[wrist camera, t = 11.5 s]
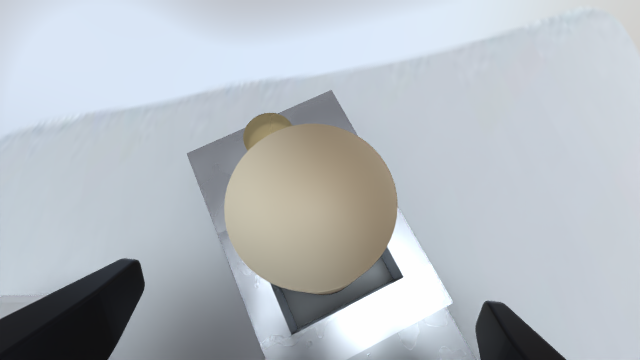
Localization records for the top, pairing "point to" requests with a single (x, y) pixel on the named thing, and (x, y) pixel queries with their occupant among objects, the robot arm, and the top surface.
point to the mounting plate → (356, 316)
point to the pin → (311, 208)
